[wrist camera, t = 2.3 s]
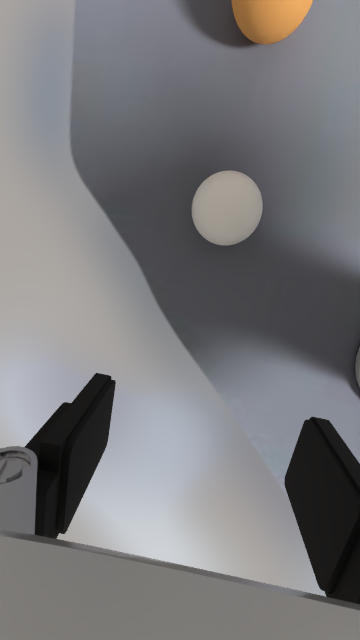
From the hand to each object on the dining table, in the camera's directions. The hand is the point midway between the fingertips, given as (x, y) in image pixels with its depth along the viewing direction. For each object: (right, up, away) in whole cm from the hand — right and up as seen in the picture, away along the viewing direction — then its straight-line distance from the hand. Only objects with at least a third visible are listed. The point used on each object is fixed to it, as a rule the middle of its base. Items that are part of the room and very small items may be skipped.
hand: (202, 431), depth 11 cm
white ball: (+3, +13, +12) cm, 18 cm away
